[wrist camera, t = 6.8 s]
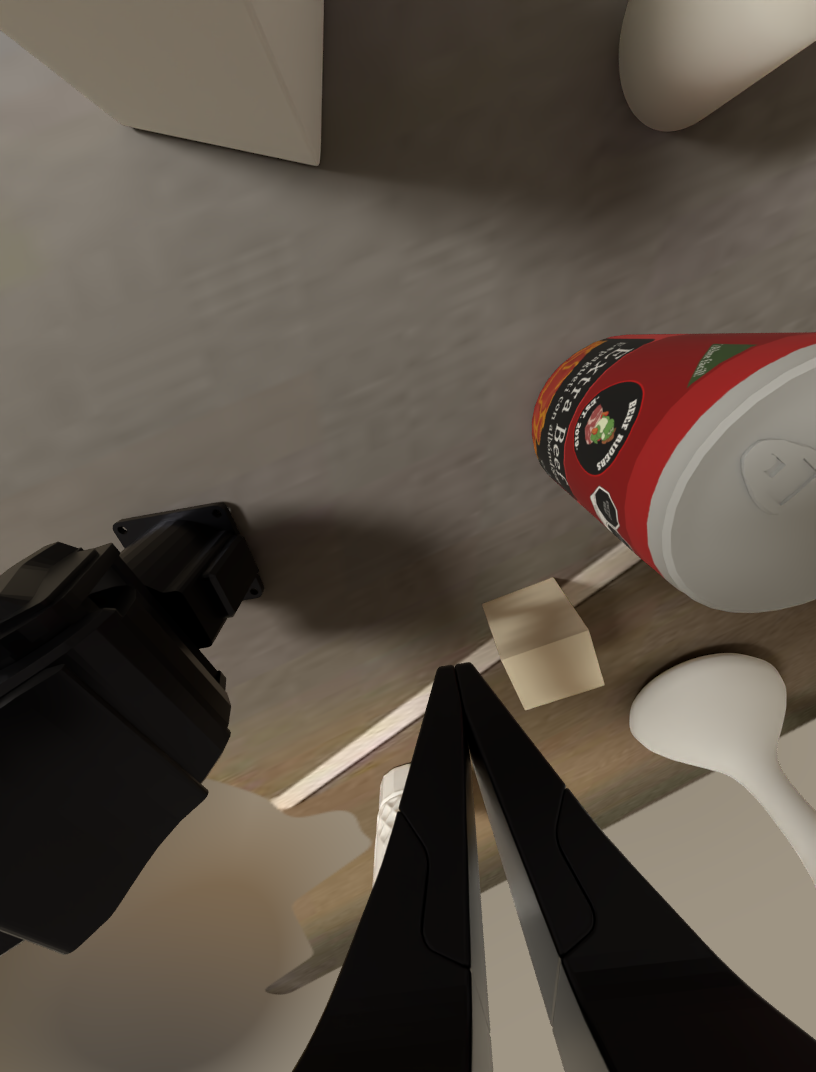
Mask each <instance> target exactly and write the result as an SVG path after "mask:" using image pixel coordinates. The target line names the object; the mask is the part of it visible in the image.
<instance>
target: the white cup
mask: <svg viewBox="0 0 816 1072" xmlns="http://www.w3.org/2000/svg"><path fill="white" fill-rule="evenodd" d="M410 765H411V763H410V764H406V765H402V766H399V767H396V768H393V769H392V770H391V771H389V772H388V773H387V774H385V775H384V777H383V780H382V782H381V785H380V800H379V813H378V818H377V833H376V842H375V855H374V871H373V886H374V883H375V880H376V878H377V875H378V872H379V869H380V867H381V864H382V861H383V858H384V855H385V851H386V848H387V845H388V842H389V838H390V835H391V832H392V828H393V825H394V821H395V818H396V814H397V812H398V811H399V804H400V800H401V797H402V793H403V790H404V786H405V783H406V779H407V775H408V772H409V768H410ZM372 889H373V887H372Z"/></svg>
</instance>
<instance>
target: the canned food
mask: <svg viewBox="0 0 816 1072" xmlns="http://www.w3.org/2000/svg"><path fill="white" fill-rule="evenodd" d="M532 438H533V443H534V448H535V453H536V455H537V458H538V460H539V462H540V464H541V466H542V467H543V469H544V470H545V471H546V473H547V474H548V475H549V476H550V477H551V478H552V479H553V480H554V481H555V482H557V483H558V484H559V485H560V486H561V487H562V488H563V489H564V490H565V491H567V492H568V493H569V494H570V495H571V496H572V497H573V498H574V499H575V500H576V501H578V502H579V503H580V504H581V505H582V506H583V507H584V508H585V509H586V510H588V511H589V512H590V513H591V514H592V515H593V516H594V517H595V518H596V519H598V520H599V521H600V522H601V523H602V524H603V525H604V526H605V527H606V528H608V529H609V530H610V531H611V532H612V533H613V534H614V535H615V536H616V537H618V538H619V539H620V540H621V541H622V542H623V543H624V544H625V545H626V546H628V547H629V548H630V549H631V550H632V551H633V552H634V553H635V554H636V555H638V556H639V557H640V558H641V559H642V560H643V561H644V562H646V563H647V564H648V565H649V566H651V567H652V568H653V569H654V570H655V571H657V572H658V573H659V574H660V575H661V576H662V577H663V578H664V579H666V580H667V581H668V582H669V583H671V584H672V585H673V586H674V587H676V588H677V589H678V590H679V591H681V592H684V593H685V594H686V595H688V596H689V597H690V598H691V599H693V600H694V601H696V602H699V603H701V604H703V605H705V606H707V607H710V608H713V609H718V610H722V611H727V612H735V613H759V612H767V611H776V610H781V609H785V608H789V607H793V606H797V605H801V604H805V603H807V602H810V601H813V600H815V599H816V332H811V333H728V334H645V335H621V336H614V337H609V338H606V339H603V340H600V341H597V342H595V343H592V344H591V345H589V346H587V347H585V348H584V349H582V350H580V351H578V352H577V353H575V354H574V355H572V356H571V357H570V358H569V359H568V360H566V361H565V362H564V363H563V364H562V365H560V366H559V367H558V368H557V370H556V371H555V372H554V373H553V374H552V375H551V377H550V378H549V379H548V381H547V382H546V384H545V386H544V387H543V389H542V391H541V392H540V395H539V397H538V400H537V402H536V405H535V408H534V413H533V419H532Z"/></svg>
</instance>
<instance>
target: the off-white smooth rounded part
mask: <svg viewBox="0 0 816 1072" xmlns="http://www.w3.org/2000/svg"><path fill="white" fill-rule="evenodd" d="M815 41H816V0H629V1H628V4H627V8H626V11H625V15H624V18H623V23H622V28H621V34H620V42H619V75H620V81H621V86H622V90H623V93H624V97H625V99H626V101H627V104H628V106H629V107H630V109H631V111H632V112H633V114H634V115H635V116H636V117H637V118H638V120H639V121H641V122H642V123H643V124H644V125H646V126H648V127H650V128H652V129H654V130H658V131H665V132H671V131H678V130H681V129H685V128H687V127H689V126H692V125H694V124H696V123H697V122H699V121H700V120H702V119H704V118H705V117H706V116H708V115H709V114H711V113H712V112H714V111H715V110H717V109H718V108H719V107H721V106H722V105H724V104H725V103H727V102H728V101H730V100H731V99H732V98H734V97H735V96H737V95H738V94H740V93H741V92H743V91H744V90H745V89H747V88H748V87H750V86H751V85H753V84H754V83H756V82H757V81H758V80H760V79H761V78H763V77H764V76H766V75H767V74H769V73H770V72H771V71H773V70H774V69H776V68H777V67H779V66H780V65H782V64H783V63H784V62H786V61H787V60H789V59H790V58H792V57H793V56H795V55H796V54H797V53H799V52H800V51H802V50H803V49H805V48H806V47H808V46H809V45H810V44H812V43H813V42H815Z"/></svg>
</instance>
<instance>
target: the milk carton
mask: <svg viewBox="0 0 816 1072" xmlns="http://www.w3.org/2000/svg"><path fill="white" fill-rule="evenodd" d="M323 23H324V0H0V30H1V31H2V32H3V33H5V34H6V35H7V36H9V37H10V38H11V39H12V40H14V41H15V42H16V43H18V44H19V45H20V46H21V47H23V48H24V49H25V50H26V51H28V52H29V53H30V54H32V55H33V56H34V57H35V58H37V59H38V60H39V61H40V62H42V63H43V64H44V65H46V66H47V67H48V68H49V69H51V70H52V71H53V72H54V73H56V74H57V75H58V76H60V77H61V78H62V79H63V80H65V81H66V82H67V83H69V84H70V85H71V86H72V87H74V88H75V89H76V90H77V91H79V92H80V93H81V94H83V95H84V96H85V97H86V98H88V99H89V100H90V101H91V102H93V103H94V104H95V105H97V106H98V107H99V108H100V109H102V110H103V111H104V112H106V113H107V114H108V115H109V116H111V117H112V118H113V119H114V120H116V121H117V122H119V123H120V124H122V125H124V126H128V127H133V128H138V129H142V130H147V131H152V132H157V133H161V134H166V135H171V136H176V137H180V138H185V139H190V140H195V141H199V142H204V143H209V144H214V145H218V146H223V147H228V148H233V149H238V150H242V151H247V152H252V153H257V154H261V155H266V156H271V157H276V158H280V159H285V160H290V161H295V162H299V163H304V164H309V165H314V166H318V165H319V163H320V154H321V117H322V70H323Z"/></svg>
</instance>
